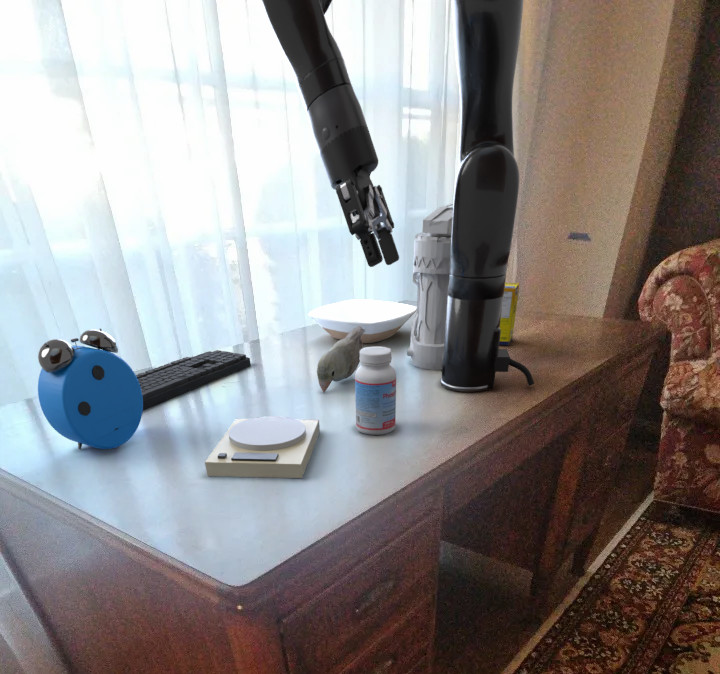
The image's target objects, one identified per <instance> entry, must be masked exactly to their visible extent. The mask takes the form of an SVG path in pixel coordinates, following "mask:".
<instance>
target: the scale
mask: <svg viewBox="0 0 720 674" xmlns="http://www.w3.org/2000/svg"><path fill="white" fill-rule="evenodd" d="M320 433H321V429H320V420H319V419H295V418H292V417H287V416H280V415H279V416H278V415H269V416H268V415H267V416H258V417H253V418H235V419H234V420H233V422H232V423H231V425H230V426H229V427H228V429H226V432H225V433H224V434H223V435H222V437H221V439H219V441H218V443H217V444H216V446H214V448H213V449H212V451H211V452H210V454H209V456H208V457H207V458H206V459H205V461H204V465H205V471H206V475H207V477H225V478H226V477H231V478H272V479H303V477H304V474H305V472H306V470H307V467H308V465H309V461H310V459H311V456H312V454H313V452H314V449H315V446H316V444H317V441H318V438H319V435H320Z"/></svg>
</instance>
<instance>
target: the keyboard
mask: <svg viewBox="0 0 720 674" xmlns="http://www.w3.org/2000/svg"><path fill="white" fill-rule="evenodd" d="M251 365H252V364H251V358H250V357H247V354H244V353H239V352H232V351H225V350H218V349H216V350H213V351H212V350H211V351H204V352H203V353H200V354H197V355H194V356H191V357H190V356H186V357H182V358H180V359H177V360H174V361H171V362H170V363H169V362H168V363H165V364H163V365H160V366H157V367H153V368H152V369H149V370H146V371H144V372H139V373H138V374H135V375H136V377H137V379H138V381H139V384H140V387H141V391H142V397H143V411H144V410H146V409H149V408H150V407H153V406H157V405H158V404H160V403H163V402H166V401H168V400H171V399H173V398H175V397H177V396H181V395H182V394H185V393H188V392H189V391H192V390H195V389H197V388H199V387H200V388H201V387H202V386H204V385H207V384H209V383H212V382H214V381H217V380H219V379H222V378H224V377H227V376H229V375H232V374H234V373H236V372H239V371H241V370H243V369H246V368H249V367H251Z"/></svg>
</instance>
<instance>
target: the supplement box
mask: <svg viewBox="0 0 720 674" xmlns="http://www.w3.org/2000/svg"><path fill="white" fill-rule="evenodd" d="M520 285H521V283H520V282H505V289H504V297H503V305H502V312H501V320H500V330H501V335H500V343H499V346H509V345H510V344H511V342H512V340H513V338H514V331H515V323H516V322H515V321H516V315H517V308H518V299H519V292H520Z"/></svg>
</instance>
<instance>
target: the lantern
mask: <svg viewBox="0 0 720 674" xmlns="http://www.w3.org/2000/svg"><path fill="white" fill-rule="evenodd" d="M453 205H454V203H448V204H446V205H442V206H439V207H438V208H436V209H434V211H432V212H431V213H430V214H428V215H427V216H426V217H425V218H423V219H422V232H418V233H416V234H415V236H414V240H413V263H412V264H413V266H412V283H413V285H416V286H417V291H416V292H417V293H416V307H417V311H416V312H415V315H414V317H413V320H412V323H411V327H410V345H409V346H408V348H407V349H406V355H407V357H410V359H411V364H412V365H413V366H414V367H416V368H420V369H423V370H432V371H433V370H440V371H441V368H442V366H443V352H444V338H445V324H446V310H447V296H448V282H449V267H450V247H451V235H452V220H453Z"/></svg>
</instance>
